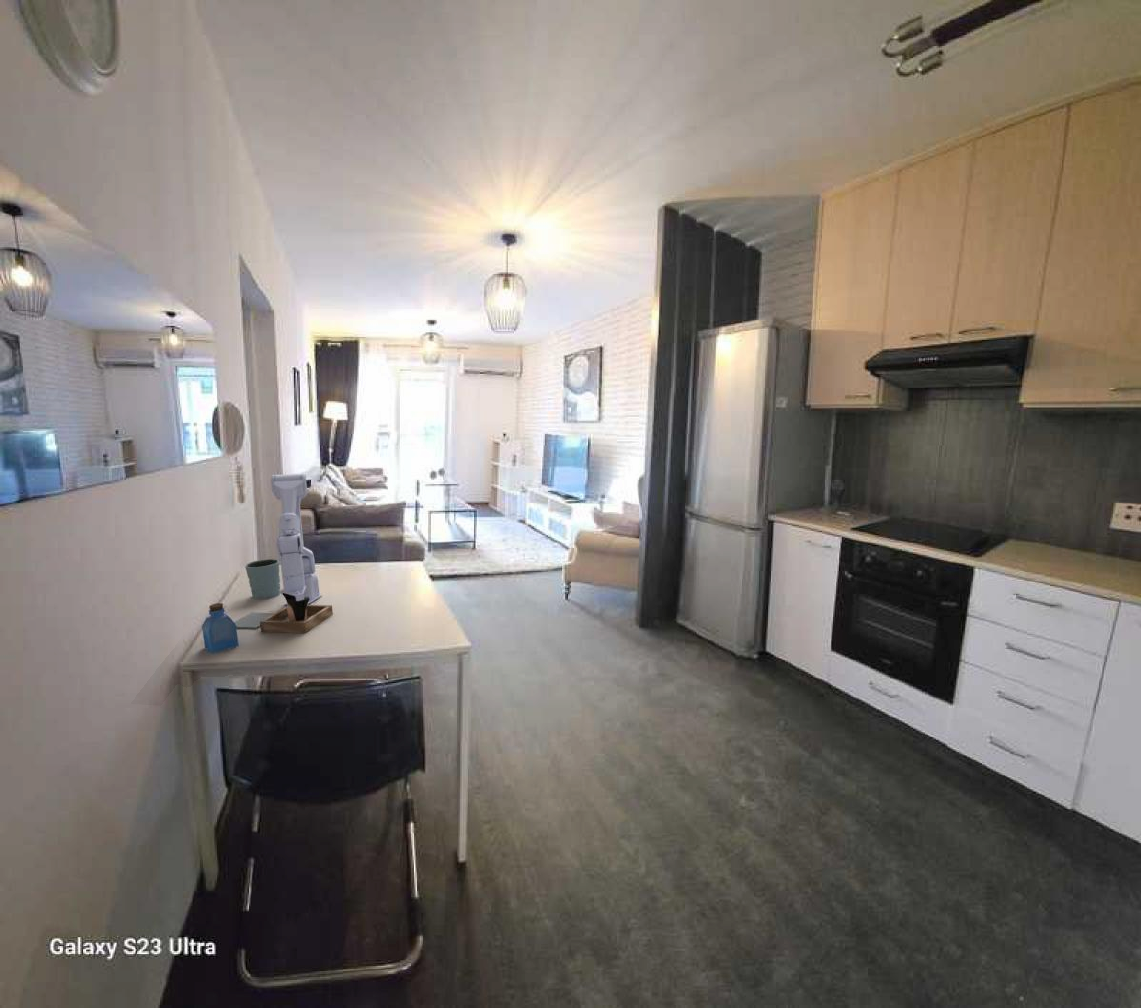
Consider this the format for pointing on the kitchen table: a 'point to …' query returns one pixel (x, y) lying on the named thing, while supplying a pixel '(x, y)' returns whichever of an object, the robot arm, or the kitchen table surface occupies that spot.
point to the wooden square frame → (277, 625)
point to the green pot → (264, 578)
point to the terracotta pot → (291, 614)
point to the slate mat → (251, 620)
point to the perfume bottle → (219, 630)
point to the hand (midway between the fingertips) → (297, 616)
